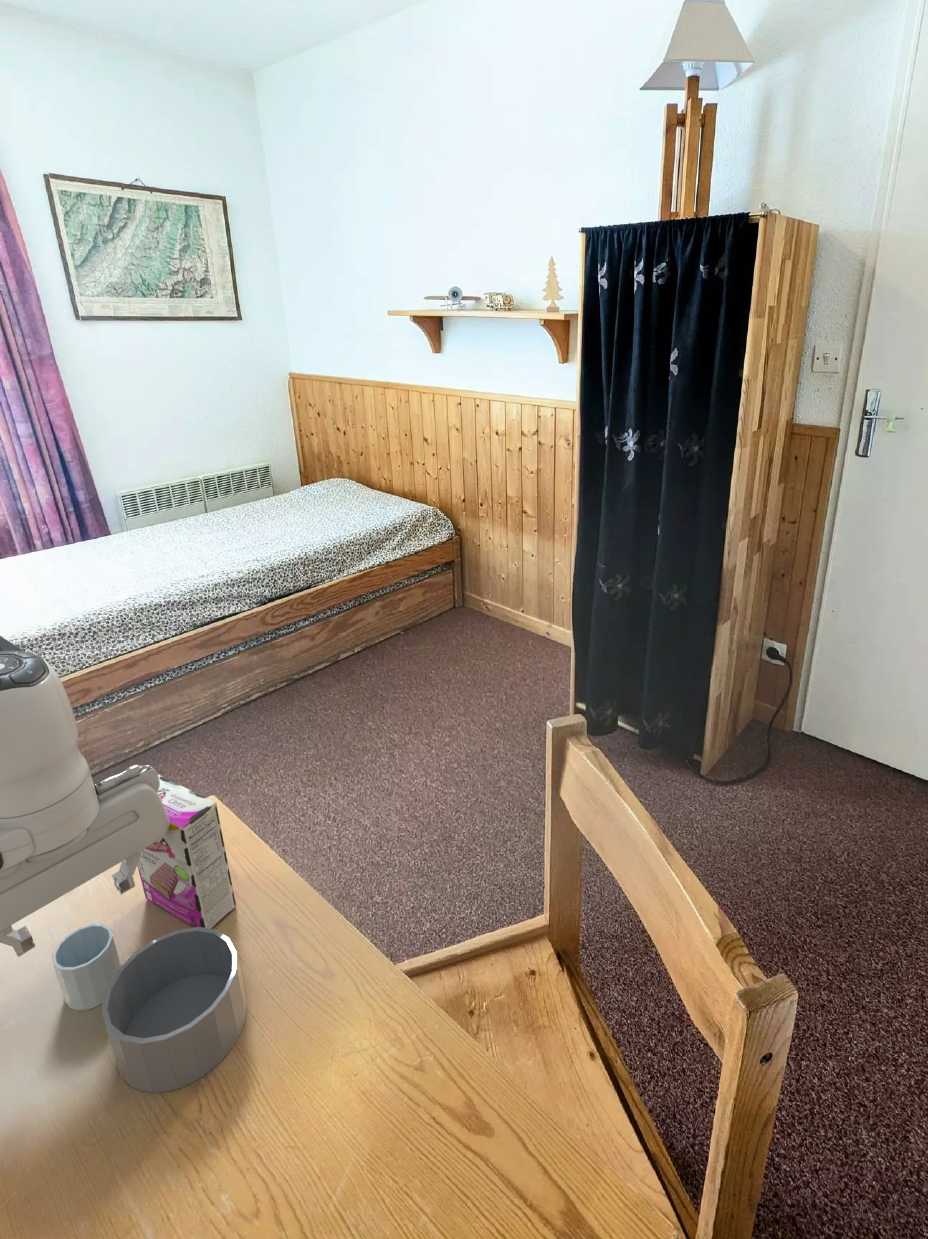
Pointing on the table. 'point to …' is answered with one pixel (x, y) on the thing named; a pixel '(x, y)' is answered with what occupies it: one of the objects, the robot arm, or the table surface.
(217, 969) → the gray bowl
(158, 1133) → the table surface
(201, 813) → the candy bar box
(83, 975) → the light blue cup
